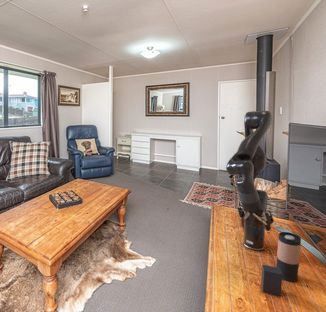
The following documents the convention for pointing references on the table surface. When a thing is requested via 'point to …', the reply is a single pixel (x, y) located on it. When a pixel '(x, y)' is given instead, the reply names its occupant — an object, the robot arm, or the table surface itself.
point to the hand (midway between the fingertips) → (258, 227)
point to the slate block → (271, 280)
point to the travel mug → (288, 255)
